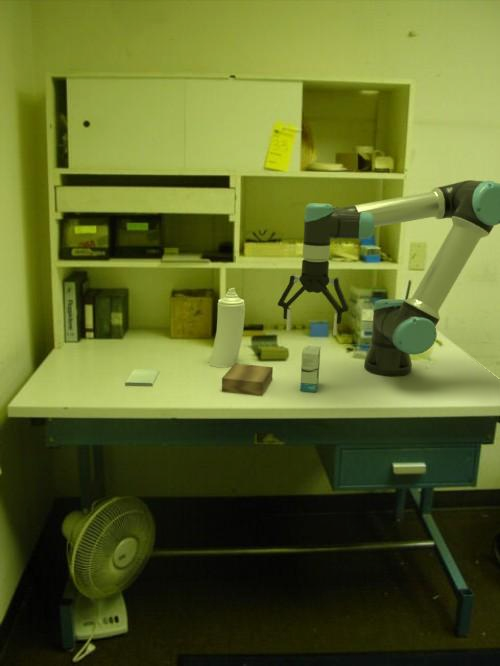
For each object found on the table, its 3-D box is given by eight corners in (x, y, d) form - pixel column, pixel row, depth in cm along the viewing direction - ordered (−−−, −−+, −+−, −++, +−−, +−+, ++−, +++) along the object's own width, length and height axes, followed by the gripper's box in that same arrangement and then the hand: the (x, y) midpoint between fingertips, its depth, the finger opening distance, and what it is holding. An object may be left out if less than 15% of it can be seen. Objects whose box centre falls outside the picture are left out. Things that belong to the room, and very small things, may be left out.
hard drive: (152, 383, 181) (159, 369, 193) (124, 382, 181) (133, 368, 193) (152, 388, 181) (159, 374, 193) (125, 387, 181) (133, 373, 193)
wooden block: (272, 379, 189) (272, 367, 188) (262, 395, 176) (262, 382, 175) (234, 375, 192) (234, 363, 190) (221, 391, 178) (222, 378, 177)
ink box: (316, 392, 179) (318, 354, 176) (299, 391, 180) (301, 352, 177) (319, 382, 187) (321, 345, 184) (303, 381, 188) (304, 344, 185)
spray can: (217, 355, 211) (217, 283, 204) (247, 358, 208) (248, 286, 201) (205, 365, 200) (205, 290, 193) (237, 369, 197) (238, 293, 191)
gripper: (361, 260, 174) (355, 332, 179) (275, 254, 179) (272, 325, 185) (359, 264, 167) (353, 339, 172) (269, 258, 172) (266, 331, 178)
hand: (311, 332), depth 179 cm, fingers open, 13 cm apart
